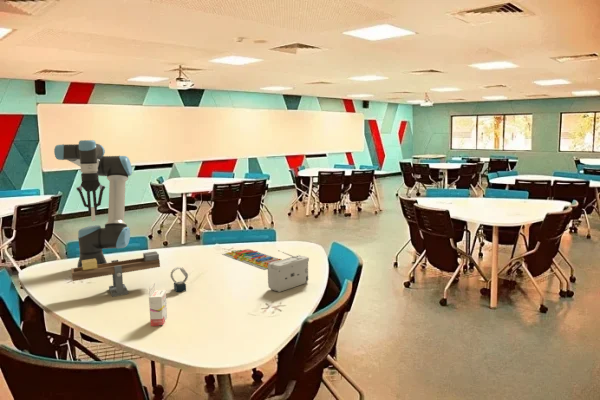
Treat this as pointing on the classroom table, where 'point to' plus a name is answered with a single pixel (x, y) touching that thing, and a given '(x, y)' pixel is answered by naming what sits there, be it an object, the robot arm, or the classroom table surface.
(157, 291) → the ink cartridge box
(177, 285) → the watch
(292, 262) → the stereo radio cassette player
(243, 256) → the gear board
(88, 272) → the balance beam
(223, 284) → the classroom table surface
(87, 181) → the robot arm
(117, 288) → the pivot stand
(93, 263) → the brass rider
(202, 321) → the classroom table surface
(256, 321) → the classroom table surface
